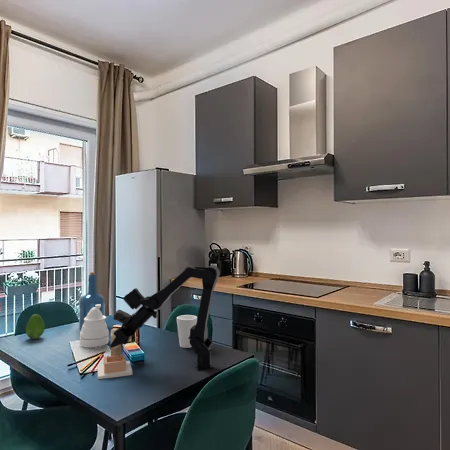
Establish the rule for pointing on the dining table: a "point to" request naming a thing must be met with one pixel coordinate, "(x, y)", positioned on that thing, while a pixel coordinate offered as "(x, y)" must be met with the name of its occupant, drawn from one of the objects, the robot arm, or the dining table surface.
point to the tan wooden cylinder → (116, 349)
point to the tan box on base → (114, 367)
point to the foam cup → (185, 329)
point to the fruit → (35, 327)
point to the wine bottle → (90, 300)
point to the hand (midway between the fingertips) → (112, 345)
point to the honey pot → (94, 329)
